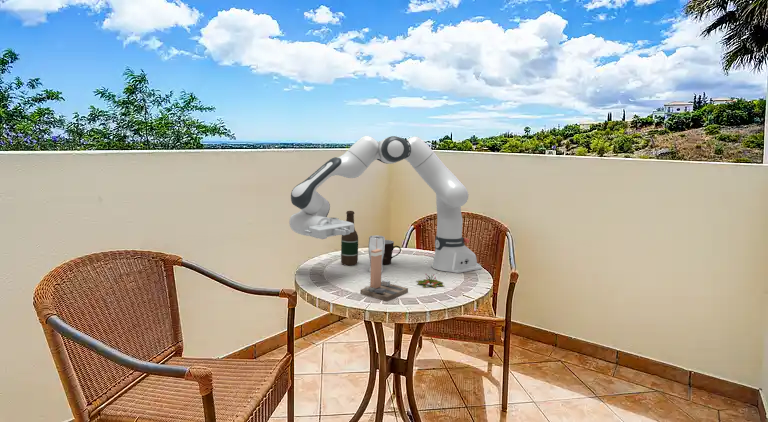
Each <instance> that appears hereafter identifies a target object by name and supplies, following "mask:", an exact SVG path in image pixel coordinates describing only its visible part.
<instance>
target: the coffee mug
mask: <svg viewBox="0 0 768 422" xmlns="http://www.w3.org/2000/svg"><path fill="white" fill-rule="evenodd" d="M394 244H395V242H394V240H390V239H385V251H384V256H383V262H382V266H388V265H391V264H392V259H393V258H395V257H397V256H399V254H401V252H402V249H401V247H400V246H399V245H394ZM395 248H398V249H399V252H398V253H397V254H395V255H393V251H394V250H395Z"/></svg>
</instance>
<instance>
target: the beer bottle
mask: <svg viewBox="0 0 768 422" xmlns="http://www.w3.org/2000/svg"><path fill="white" fill-rule="evenodd" d="M345 214H346V219H345V221H348V222H351V223H353V224H354V225H355V212H354V211H353V210H346V212H345ZM340 239H341V242H340V246H341V247H340V248H341V249H340V251H341V252H340V257H341V258H340V261H341V264H342V265H343V266H347V267H348V266H350V267H351V266H356V265H358V263H359V235H358V232H357V231H356V229H355V227H354V232H352V233H350V234H348V235H341V238H340Z"/></svg>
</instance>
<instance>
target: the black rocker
mask: <svg viewBox="0 0 768 422" xmlns="http://www.w3.org/2000/svg"><path fill="white" fill-rule="evenodd" d="M386 291H387V290H386V289H379V288H378V289H376V290H374V292H375V293H384V292H386Z"/></svg>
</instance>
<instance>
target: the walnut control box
mask: <svg viewBox="0 0 768 422" xmlns="http://www.w3.org/2000/svg"><path fill="white" fill-rule="evenodd" d="M376 289H378V288H373V287H372V288H371V287H370V285H365V286H364V288H361V289H360V294H361V295H363V296H367V297H370V296H371V298H374V297H375V298H374V299H377V298H378V300H380V301H381V300H382V301H385V302H388V301H391V300H393V299H395V298H398V297H401V296H402V295H404V294H408V293H409V288H407V287H404V286H399V285H396V284H393V283H390V285H389V286H384V285H382V281H381V287H379V289H386V290H387V291H386V292H384V293H375V292H374V290H376Z"/></svg>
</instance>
